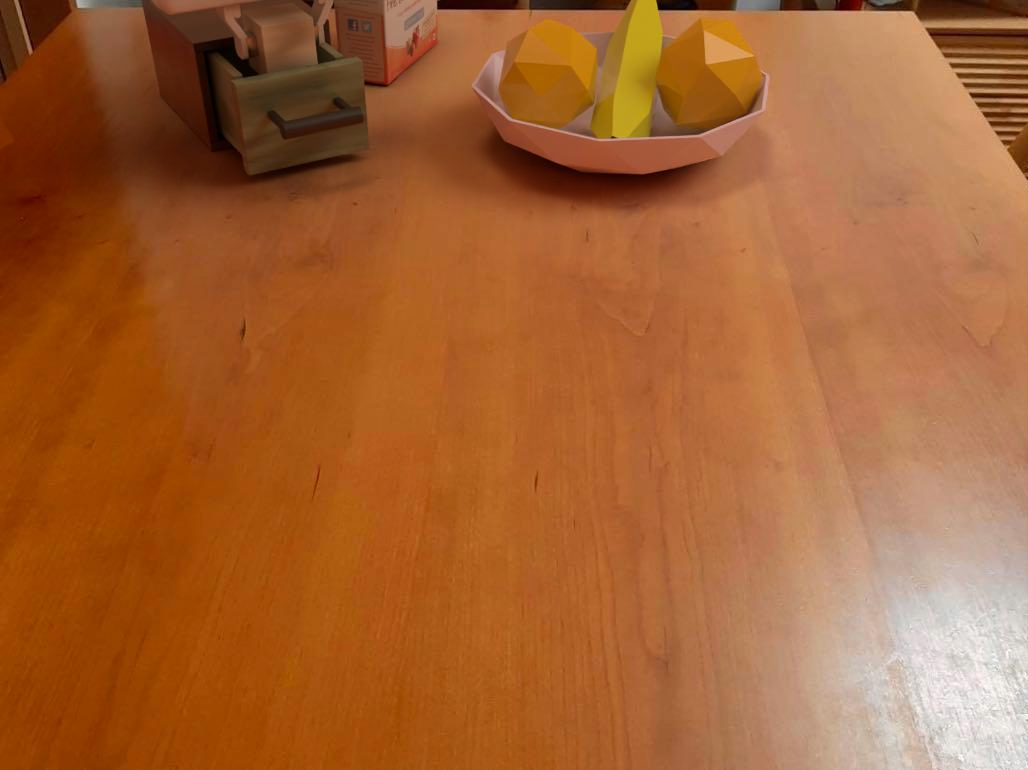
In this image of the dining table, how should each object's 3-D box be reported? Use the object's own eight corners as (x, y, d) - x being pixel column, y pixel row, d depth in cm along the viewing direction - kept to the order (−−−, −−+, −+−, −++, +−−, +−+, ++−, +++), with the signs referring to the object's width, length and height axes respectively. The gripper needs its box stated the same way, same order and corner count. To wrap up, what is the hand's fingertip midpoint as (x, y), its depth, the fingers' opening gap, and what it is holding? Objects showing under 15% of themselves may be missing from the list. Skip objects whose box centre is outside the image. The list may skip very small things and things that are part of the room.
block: (268, 83, 98) (260, 26, 95) (249, 66, 101) (241, 10, 98) (319, 73, 100) (313, 17, 97) (298, 56, 103) (292, 2, 100)
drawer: (391, 167, 102) (385, 77, 97) (268, 196, 98) (254, 103, 92) (307, 95, 114) (298, 12, 109) (195, 118, 110) (179, 32, 105)
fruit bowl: (697, 234, 95) (714, 95, 87) (419, 163, 105) (412, 32, 97) (812, 117, 113) (834, -6, 105) (565, 66, 123) (569, -50, 115)
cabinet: (339, 125, 111) (329, 19, 105) (211, 152, 106) (192, 43, 100) (279, 72, 121) (266, -26, 115) (160, 95, 116) (140, -7, 110)
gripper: (363, -154, 96) (375, 20, 106) (117, -126, 89) (154, 59, 98) (396, -139, 92) (406, 40, 102) (141, -108, 85) (177, 83, 94)
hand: (280, 50), depth 100 cm, fingers closed on block, 4 cm apart
